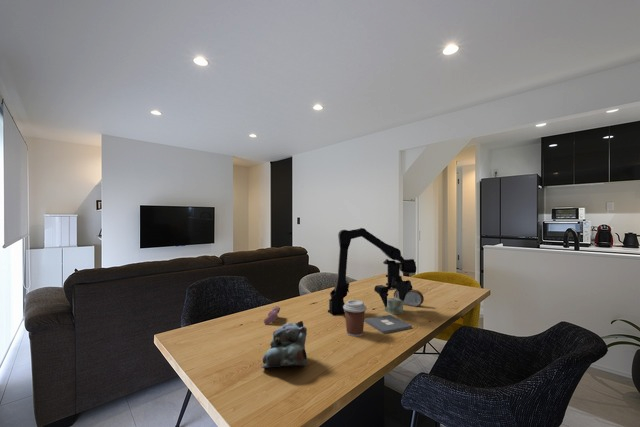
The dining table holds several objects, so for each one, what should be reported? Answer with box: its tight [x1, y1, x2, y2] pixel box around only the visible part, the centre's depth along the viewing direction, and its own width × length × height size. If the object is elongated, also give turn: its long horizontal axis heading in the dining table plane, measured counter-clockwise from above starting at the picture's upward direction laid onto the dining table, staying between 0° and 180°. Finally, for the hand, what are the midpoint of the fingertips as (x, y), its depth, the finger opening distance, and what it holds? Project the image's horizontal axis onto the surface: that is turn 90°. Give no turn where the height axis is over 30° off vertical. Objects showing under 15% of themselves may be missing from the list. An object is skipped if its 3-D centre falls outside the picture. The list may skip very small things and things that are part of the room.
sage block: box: [384, 297, 404, 316], centre depth 132 cm, size 6×6×6 cm
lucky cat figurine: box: [260, 320, 308, 369], centre depth 85 cm, size 15×12×14 cm
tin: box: [393, 288, 425, 308], centre depth 143 cm, size 15×3×8 cm, turn 58°
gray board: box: [364, 314, 413, 334], centre depth 116 cm, size 14×14×1 cm
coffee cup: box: [343, 299, 367, 337], centre depth 108 cm, size 9×9×12 cm
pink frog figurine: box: [263, 306, 281, 325], centre depth 121 cm, size 10×5×7 cm, turn 179°
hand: (393, 305), depth 132 cm, fingers open, 9 cm apart
